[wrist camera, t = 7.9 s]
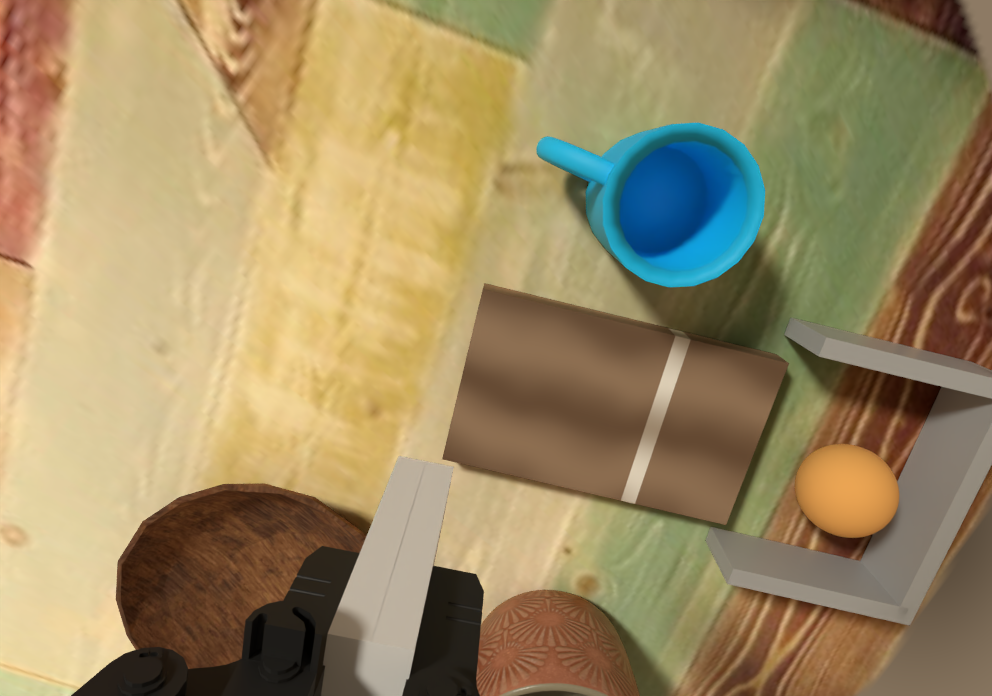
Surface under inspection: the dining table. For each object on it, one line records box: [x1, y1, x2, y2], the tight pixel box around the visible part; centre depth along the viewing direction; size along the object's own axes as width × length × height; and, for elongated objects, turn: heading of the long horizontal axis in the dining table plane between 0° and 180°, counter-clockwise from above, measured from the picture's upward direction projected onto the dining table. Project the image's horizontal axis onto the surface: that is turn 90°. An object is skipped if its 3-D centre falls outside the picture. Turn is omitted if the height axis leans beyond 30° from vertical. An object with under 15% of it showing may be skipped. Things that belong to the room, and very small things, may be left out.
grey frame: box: [705, 318, 992, 626], centre depth 42 cm, size 17×13×5 cm
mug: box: [537, 123, 765, 287], centre depth 36 cm, size 12×8×8 cm
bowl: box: [116, 484, 366, 669], centre depth 46 cm, size 20×22×5 cm
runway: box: [443, 283, 789, 525], centre depth 43 cm, size 12×20×2 cm, turn 76°
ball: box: [795, 444, 899, 538], centre depth 42 cm, size 6×6×6 cm
